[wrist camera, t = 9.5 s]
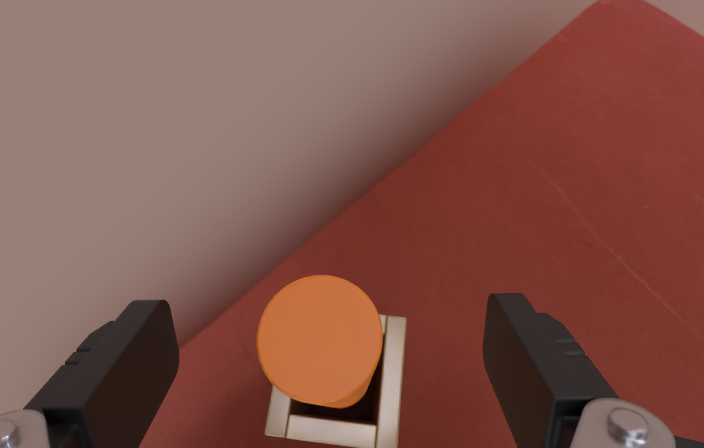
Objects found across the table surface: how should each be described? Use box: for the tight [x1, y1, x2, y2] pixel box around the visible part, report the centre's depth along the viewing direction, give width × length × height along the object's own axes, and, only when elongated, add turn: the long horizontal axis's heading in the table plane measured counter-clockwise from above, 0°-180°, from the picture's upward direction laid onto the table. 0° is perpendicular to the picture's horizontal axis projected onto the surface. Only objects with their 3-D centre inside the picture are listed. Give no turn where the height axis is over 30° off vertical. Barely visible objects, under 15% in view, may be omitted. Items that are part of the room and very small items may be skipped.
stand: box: [264, 314, 407, 448], centre depth 20 cm, size 5×5×7 cm
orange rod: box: [257, 275, 383, 409], centre depth 16 cm, size 2×2×16 cm
